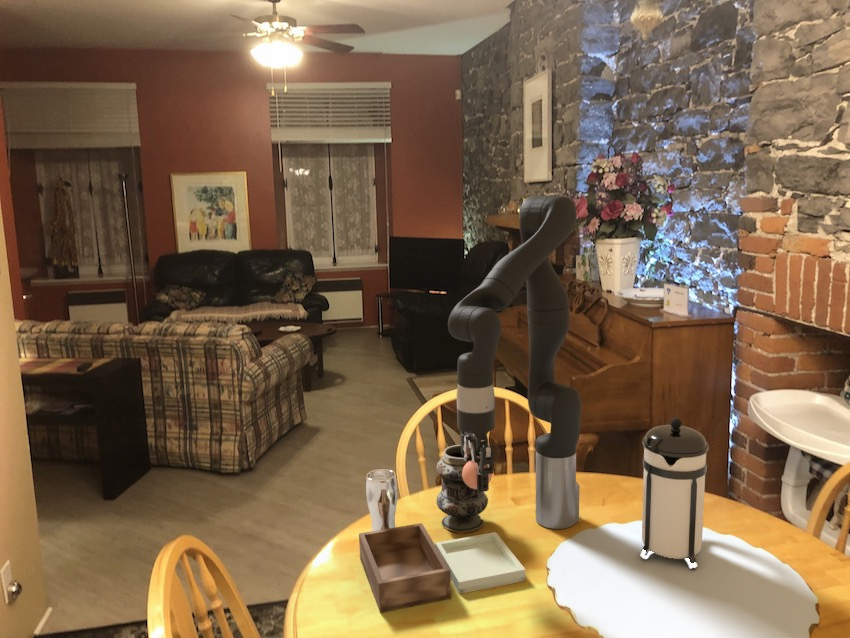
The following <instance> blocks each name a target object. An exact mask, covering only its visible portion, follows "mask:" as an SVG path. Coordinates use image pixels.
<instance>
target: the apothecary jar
mask: <svg viewBox="0 0 850 638" xmlns="http://www.w3.org/2000/svg"><path fill="white" fill-rule="evenodd" d="M477 458H480V456H477ZM466 462H467V461H465V459H464V455H462V453H461V444H455V445H451V446H447V447H446V448H445V449H444V450H443V454H442V457H441V458H440V459H439V460H438V462H437V463H436V473H437V474H438V475H439V476H440V477H441V490H440V491H439V493H438V494H437V496H436V499H435V501H436V503H435V504H436V506H437V507H438V509H439V510H440V511H441V512H442V513H444V514H446V515H445V516H444V517H443V518H442V520H441V525H442V527H443V528H444V529H445V530H448V531H449V532H453V533H459V534H460V533H462V534H464V533H467V534H469V533H473V532H476V531H478V530H480V529H482V527H483V526H484V522H485V521H484V519H482V517H481V516H480V514H481V513H482V512H484V511H485V510H486V509H487V506H488V503H489V499H488V495H487V494H486V492H479V491H478V490H477V489H473V488H470V487H469V486H467V485H466V483H465V482H464V480H463V477H462V471H463V468H464V466H465V464H466Z"/></svg>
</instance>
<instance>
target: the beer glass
mask: <svg viewBox="0 0 850 638" xmlns="http://www.w3.org/2000/svg"><path fill="white" fill-rule="evenodd" d="M396 476H397V474H396V472H395V471H394V470H391V469H386V468H379V469H378V468H377V469H373V470H371V471H369V472H367V473H366V483H365V484H366V486H365V492H366V493H365V495H366V500H367V501H366V502H367V507H368V511H369V514H370V515H369V516H370V519H371V520H370V521H371V528H370V529H371V530H370V532H371V531H377V530H383V529H389V528H395V527H396V520H395V519H396V512H397V505H398V485H397V478H396Z"/></svg>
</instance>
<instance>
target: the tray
mask: <svg viewBox="0 0 850 638" xmlns="http://www.w3.org/2000/svg"><path fill="white" fill-rule="evenodd" d="M434 544H435V546H436V547H437V549H438V551H439V552H440V554H441V556H442V557H443V559H444V561H445V562H446V564H447V566H448V567H449V569H450V578H451V583H452V584H453V586H454V588H455V589H456V591H457V593H458V594H466V593H471V592H476V591H481V590H486V589H490V588H496V587H501V586H505V585H506V586H507V585H511V584H515V583H521V582H526V568H525V567H524V566H523V564H522V563H521V562H520V560H519V559H518V558H517V557H516V556H515V554H514V553H513V552H512V551H511V550H510V547H508V546H507V545H506V543H505V542H504V541H503V539H502V537H500V535H499V534H498V533H497V532H496V531H495V532H488V533H482V534H479V535H472V536H466V537H462V538H455V539H454V538H453V539H449V540H444V541H438V542H435V543H434Z"/></svg>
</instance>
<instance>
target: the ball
mask: <svg viewBox="0 0 850 638" xmlns="http://www.w3.org/2000/svg"><path fill="white" fill-rule="evenodd" d="M479 464H480V463H479ZM484 468H485V466H484ZM462 477H463V480H464V482H465V483H466V485H467V486H469V487H470V488H473V489H477V472H476V465H475V463H473V461H472V460H470V461H469V462H467V463H466V464H465V466H464V468H463V471H462ZM492 477H493V474H488V478H489V483H491V480H492Z"/></svg>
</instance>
